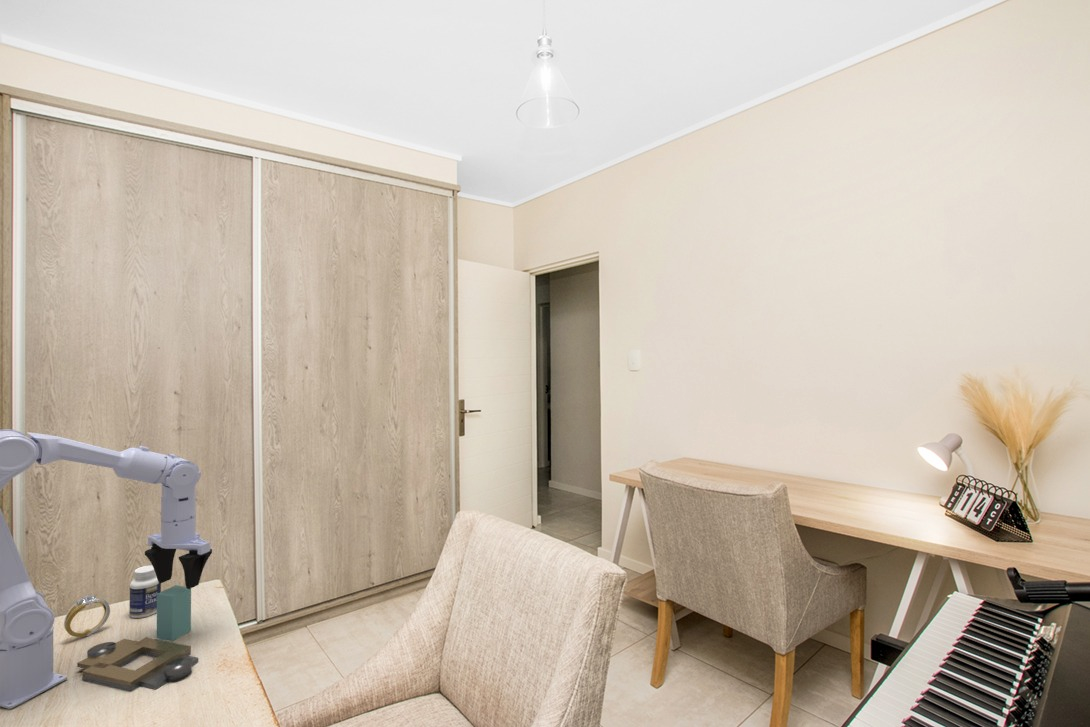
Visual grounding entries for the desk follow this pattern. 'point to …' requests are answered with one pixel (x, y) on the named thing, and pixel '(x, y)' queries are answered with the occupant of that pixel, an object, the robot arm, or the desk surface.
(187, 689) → the desk surface
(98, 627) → the ring
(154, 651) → the tan slotted board
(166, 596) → the teal pin
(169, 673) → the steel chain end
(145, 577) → the pill bottle
